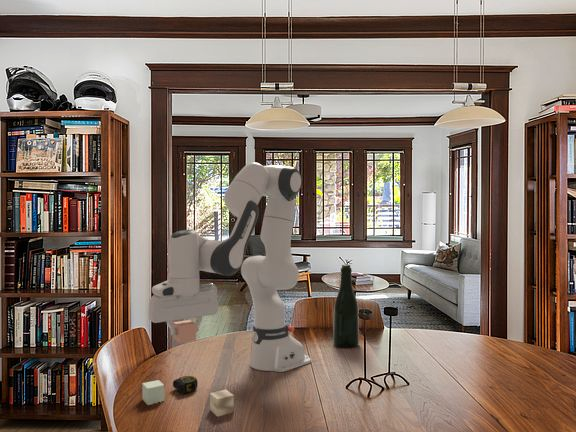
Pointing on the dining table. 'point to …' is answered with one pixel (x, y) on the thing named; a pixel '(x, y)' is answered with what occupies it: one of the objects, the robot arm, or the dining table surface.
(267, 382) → the dining table surface
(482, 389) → the dining table surface
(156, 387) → the sage block
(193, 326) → the peach block
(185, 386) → the tape measure
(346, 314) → the beer bottle
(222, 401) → the birch block
